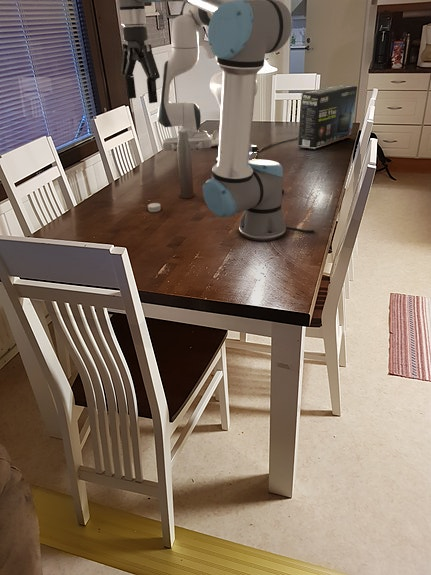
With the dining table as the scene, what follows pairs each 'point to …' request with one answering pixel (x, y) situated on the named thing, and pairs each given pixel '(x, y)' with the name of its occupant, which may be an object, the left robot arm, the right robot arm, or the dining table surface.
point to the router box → (326, 115)
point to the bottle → (184, 165)
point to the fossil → (215, 138)
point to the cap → (154, 207)
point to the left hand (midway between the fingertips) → (186, 148)
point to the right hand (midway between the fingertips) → (142, 100)
